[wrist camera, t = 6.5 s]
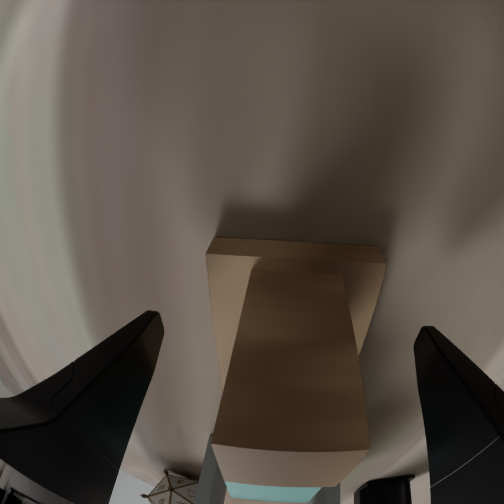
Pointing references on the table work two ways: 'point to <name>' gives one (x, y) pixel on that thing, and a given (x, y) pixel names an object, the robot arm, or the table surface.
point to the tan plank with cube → (291, 358)
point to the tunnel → (214, 486)
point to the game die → (173, 491)
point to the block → (271, 492)
